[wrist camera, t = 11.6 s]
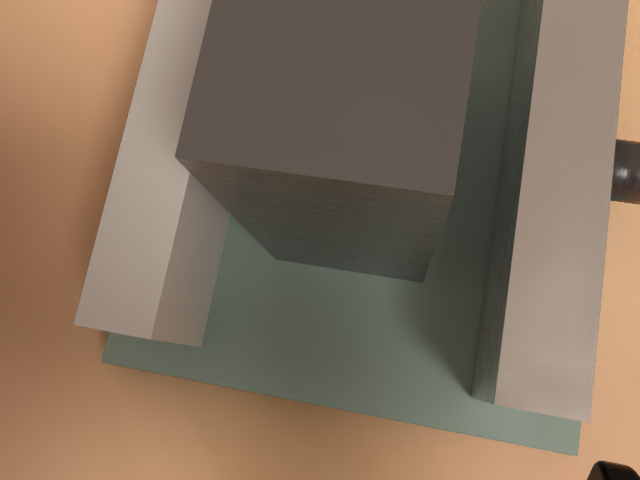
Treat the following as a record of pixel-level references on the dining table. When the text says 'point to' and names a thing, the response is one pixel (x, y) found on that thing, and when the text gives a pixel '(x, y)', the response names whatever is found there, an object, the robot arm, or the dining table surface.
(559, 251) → the block
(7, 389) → the dining table surface
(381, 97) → the steel block
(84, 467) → the dining table surface
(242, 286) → the vise
